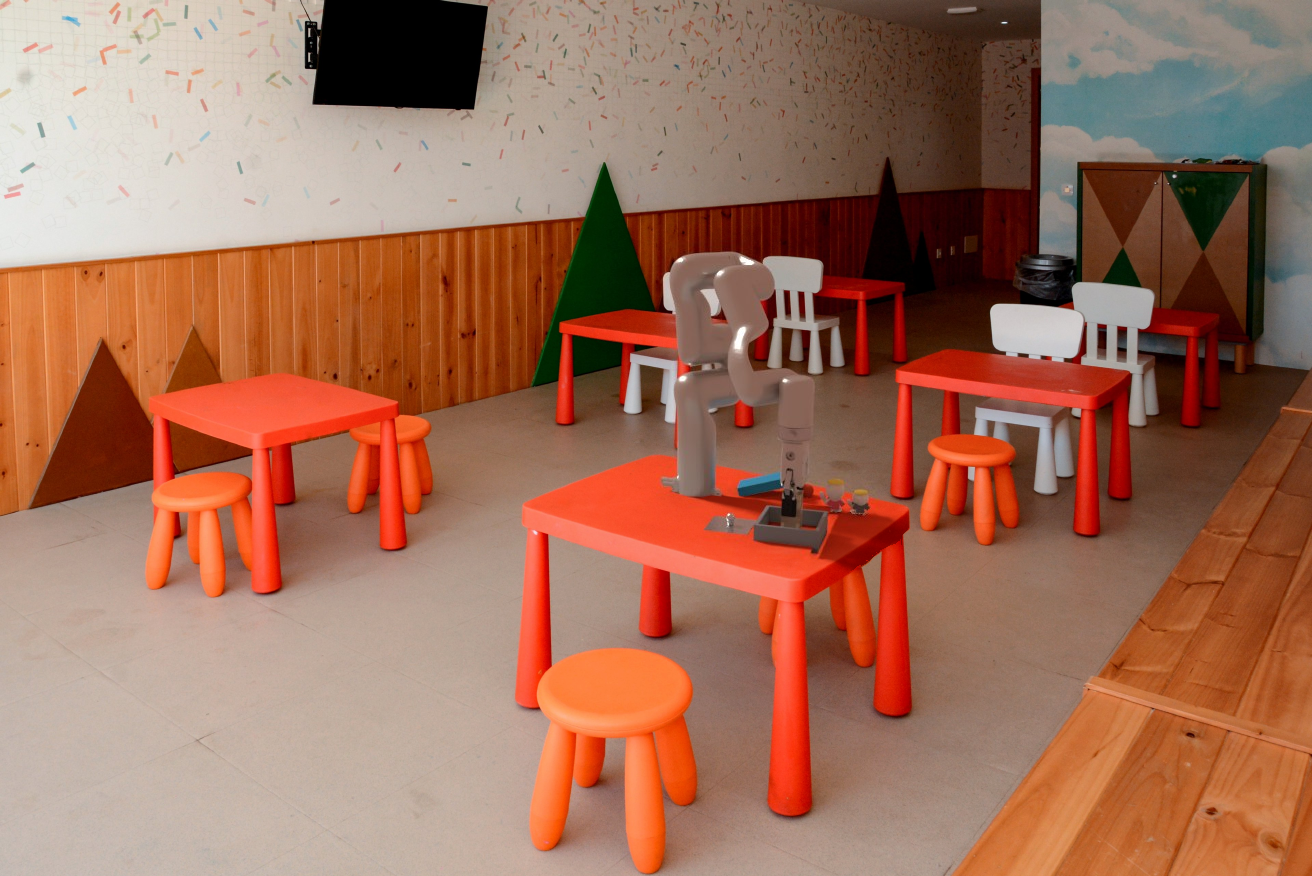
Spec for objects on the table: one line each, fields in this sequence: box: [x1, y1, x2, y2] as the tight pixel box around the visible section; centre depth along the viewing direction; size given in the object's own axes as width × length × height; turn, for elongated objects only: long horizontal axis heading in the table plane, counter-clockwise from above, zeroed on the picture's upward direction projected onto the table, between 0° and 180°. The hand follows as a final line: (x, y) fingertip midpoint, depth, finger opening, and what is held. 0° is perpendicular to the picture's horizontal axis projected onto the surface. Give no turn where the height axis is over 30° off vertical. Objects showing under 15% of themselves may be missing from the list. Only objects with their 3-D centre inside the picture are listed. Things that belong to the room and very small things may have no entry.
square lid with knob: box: [703, 512, 757, 536], centre depth 239 cm, size 10×10×4 cm
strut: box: [780, 489, 804, 529], centre depth 233 cm, size 4×4×10 cm
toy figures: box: [819, 478, 871, 515], centre depth 251 cm, size 12×4×8 cm, turn 76°
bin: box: [752, 504, 829, 555], centre depth 234 cm, size 14×14×5 cm
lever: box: [736, 471, 815, 498], centre depth 266 cm, size 7×7×18 cm
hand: (792, 510), depth 233 cm, fingers open, 7 cm apart
